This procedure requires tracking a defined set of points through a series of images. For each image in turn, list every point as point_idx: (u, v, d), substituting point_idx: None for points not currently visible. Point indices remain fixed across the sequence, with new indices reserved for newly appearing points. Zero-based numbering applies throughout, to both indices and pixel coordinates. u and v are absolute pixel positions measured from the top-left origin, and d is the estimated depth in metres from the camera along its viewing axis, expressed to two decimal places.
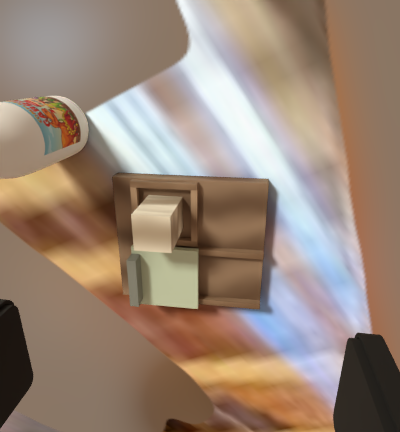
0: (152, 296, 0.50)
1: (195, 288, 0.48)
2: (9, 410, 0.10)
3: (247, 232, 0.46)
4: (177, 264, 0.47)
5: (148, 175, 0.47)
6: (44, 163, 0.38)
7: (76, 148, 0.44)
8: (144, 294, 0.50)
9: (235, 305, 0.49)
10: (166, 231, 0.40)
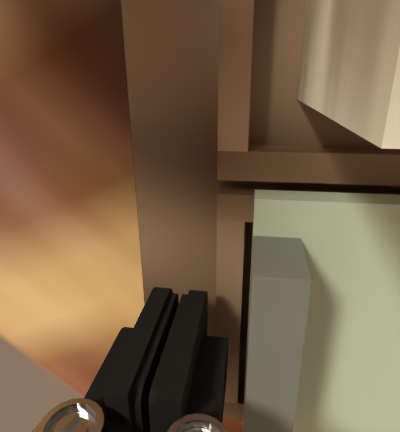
0: (325, 428, 0.11)
1: None
2: None
3: None
4: None
5: None
6: None
7: None
8: None
9: None
10: None
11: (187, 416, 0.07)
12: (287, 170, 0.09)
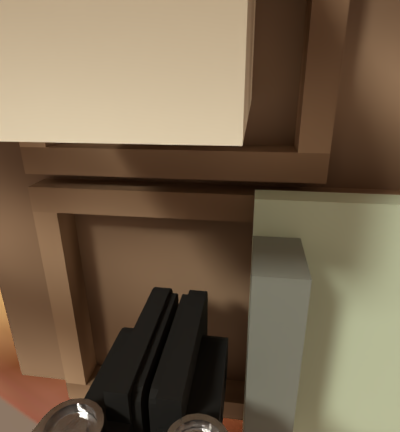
0: (325, 428, 0.11)
1: None
2: None
3: None
4: None
5: None
6: None
7: None
8: None
9: None
10: None
11: (187, 416, 0.07)
12: (82, 164, 0.10)
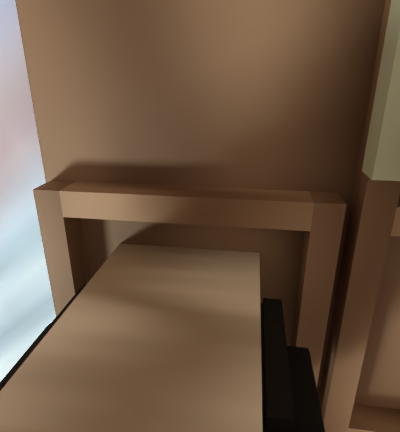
0: None
1: None
2: None
3: None
4: None
5: None
6: None
7: None
8: None
9: None
10: None
11: None
12: None
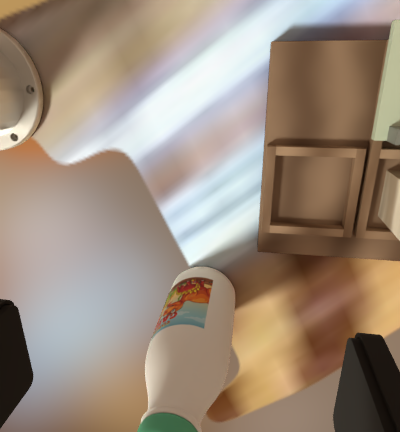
0: None
1: None
2: (9, 410, 0.10)
3: (350, 70, 0.30)
4: None
5: None
6: (216, 329, 0.32)
7: (220, 285, 0.38)
8: None
9: None
10: None
11: None
12: (350, 219, 0.34)
